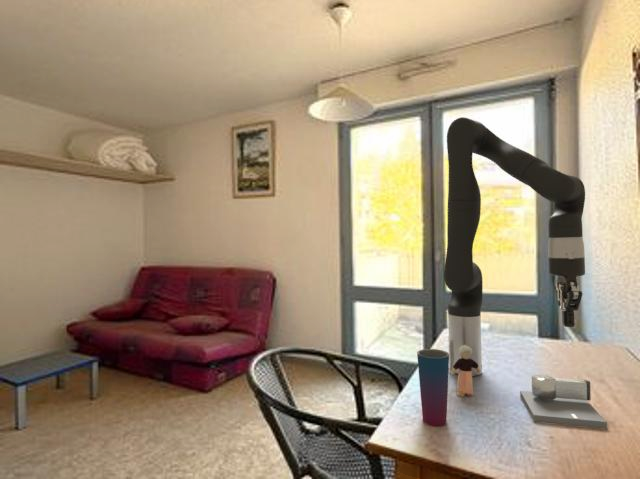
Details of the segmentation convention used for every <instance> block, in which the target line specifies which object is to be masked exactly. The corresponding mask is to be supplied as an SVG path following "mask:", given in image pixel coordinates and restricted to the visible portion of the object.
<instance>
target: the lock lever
mask: <svg viewBox="0 0 640 479" xmlns="http://www.w3.org/2000/svg"><path fill="white" fill-rule="evenodd" d="M531 392H532V395H534V396H535V397H538V398H541V399H547V400H552V399H556V398H564V399H576V400H587V401H591V381H589V380H586V379H579V378H577V379H576V378H563V377H561V378H560V377H553V376H549V375H545V374H533V375H531Z"/></svg>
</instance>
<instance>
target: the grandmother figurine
mask: <svg viewBox="0 0 640 479" xmlns="http://www.w3.org/2000/svg"><path fill="white" fill-rule="evenodd" d="M472 352H473V351H472V349H471V348H470V347H469V346H466V345H463V346H461V347H460V348H459V354H460V355H461V357H462V358H461V359H458V360H457V362H456V363H455V364H454V366H453V368H452V371H451V373H450V375H452V376H455V372H456V370H457V369H459V374H457V375H458V376H457V391H456V396H458V397H465V396H469V397H474V396H475V393H474V392H473V390H474V389H473V376H472V368H475V369H476V372H477V373H480V369H479V367H478V364H477V363H476V362H475V361H474V360H472V359H469V358H470V357H471V354H472Z"/></svg>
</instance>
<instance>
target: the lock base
mask: <svg viewBox="0 0 640 479" xmlns="http://www.w3.org/2000/svg"><path fill="white" fill-rule="evenodd" d="M519 393H520V394H519V395H520V399H521V400H522V403H523V405H524V406H525V408H526V410H527V412H528V413H529V415H530V417H531V419H532V422H534V423H541V424H542V423H544V424H550V425H551V424H552V425H562V426H563V425H565V426H571V427H572V426H574V427H581V428H590V429H591V428H592V429H599V430H601V429H602V430H603V429H604V430H608V422H607V421H606V419H605V418H604V417H603V416H602V415H601V414H600V413H599V412H598V411H597V410H596V408H595V407H594V406H593V405H592V404H591V403H590V402H589V400H576V399H564V398H556V399H552V400H547V399H541V398H538V397H535V396H534V395H532V391H525V390H520V391H519Z"/></svg>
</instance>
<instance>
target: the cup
mask: <svg viewBox="0 0 640 479" xmlns="http://www.w3.org/2000/svg"><path fill="white" fill-rule="evenodd" d="M416 355H417V356H416V357H417V368H418V377H419V378H418V380H419V381H418V382H419V390H420V391H419V392H420V402H421V414H422V421H423V423H424V424H426V425H427V426H431V427H444V426H445V425H446V424H447V417H448V416H447V415H448V395H449V394H448V391H449V372H450V370H449V351H445V350H442V349H436V348H425V349H419V350H417V352H416Z"/></svg>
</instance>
